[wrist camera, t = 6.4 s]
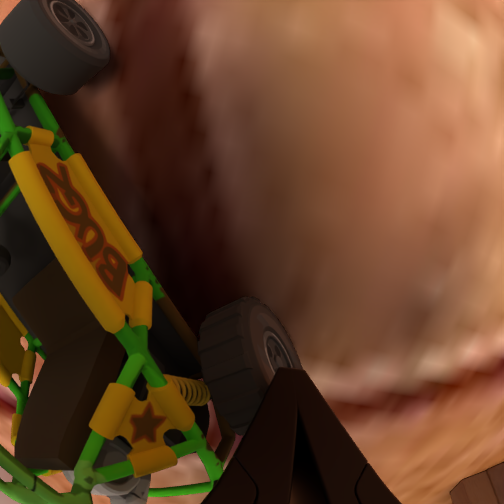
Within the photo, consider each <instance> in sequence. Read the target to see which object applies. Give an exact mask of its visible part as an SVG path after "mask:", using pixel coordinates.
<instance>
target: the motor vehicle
mask: <svg viewBox="0 0 504 504" xmlns="http://www.w3.org/2000/svg"><path fill="white" fill-rule="evenodd" d="M109 59H110V48H109V45H108V42H107V40H106V38H105V36H104V34H103V32H102V31H101V29H100V28H99V26H98V25H97V23H96V22H95V21H94V20H93V18H92V17H91V16H90V15H89V14H88V13H87V12H86V11H85V10H84V9H83V8H82V7H81V6H80V5H79V4H78V3H77V2H76V1H75V0H21V1H20V2H19V3H18V4H17V5H16V7H15V8H14V9H13V10H12V11H11V12H10V13H9V14H8V16H7V17H6V18H5V19H4V20H3V22H2V23H1V25H0V383H1V385H3V386H5V387H7V386H8V387H9V389H10V390H11V391H12V392H13V394H14V395H15V396H16V398H17V410H16V414H13V416H12V429H11V443H12V445H13V446H15V457H14V456H12V455H11V454H10V453H9V452H8V451H7V450H6V449H5V448H4V447H3V446H2V445H1V444H0V466H1V467H2V468H3V469H5V470H6V471H7V472H8V473H9V474H11V475H12V476H13V479H12V482H4V481H3V480H2V479H0V490H1V491H2V492H3V493H4V494H6V495H7V496H9V497H10V498H11V499H13V500H15V501H17V502H19V503H21V504H93V501H92V496H91V494H94V495H106V496H107V497H109V498H110V502H111V504H146V502H147V497H167V496H178V495H188V494H196V493H204V492H210V491H211V490H212V488H213V487H214V486H215V485H216V483H217V481H218V480H219V478H220V477H221V475H222V473H223V466H224V463H225V461H226V459H227V457H228V455H229V452H230V450H231V448H232V446H233V443H234V441H235V433H237V434H238V435H243V436H244V434H245V432H246V430H247V428H248V427H249V425H250V423H251V421H252V419H253V417H254V415H255V413H256V411H257V409H258V407H259V405H260V403H261V401H262V399H263V397H264V395H265V393H266V391H267V389H268V387H269V385H270V383H271V381H272V379H273V377H274V375H275V373H276V371H277V369H278V367H288V368H296V369H303V368H302V366H301V363H300V360H299V358H298V355H297V353H296V350H295V348H294V346H293V344H292V342H291V340H290V338H289V336H288V335H287V333H286V331H285V329H284V328H283V326H282V325H281V323H280V322H279V320H278V319H277V318H276V316H275V315H274V314H273V313H272V312H271V310H270V309H269V308H268V307H267V306H266V305H265V304H262V303H260V301H259V299H257V298H255V297H249V298H248V297H242V298H240V299H238V300H236V301H234V302H232V303H230V304H227V305H225V306H223V307H221V308H219V309H217V310H215V311H213V312H211V313H209V314H208V315H207V316H206V318H205V319H206V320H205V321H204V322H202V324H201V327H200V330H199V335H200V341H199V340H198V339H197V337H196V336H195V335H194V333H193V332H192V330H191V329H190V327H189V326H188V325H187V323H186V322H185V320H184V319H183V317H182V316H181V315H180V313H179V312H178V310H177V309H176V307H175V306H174V304H173V303H172V301H171V300H170V298H169V297H168V295H167V294H166V292H165V291H164V289H163V288H162V286H161V285H160V283H159V282H158V280H157V279H156V277H155V276H154V274H153V273H152V271H151V269H150V268H149V266H148V265H147V263H146V262H145V260H144V259H143V258H142V254H143V252H142V251H141V249H140V248H139V246H138V245H137V243H136V242H135V240H134V239H133V237H132V236H131V234H130V233H129V231H128V230H127V228H126V227H125V225H124V224H123V222H122V221H121V219H120V218H119V216H118V215H117V213H116V211H115V210H114V208H113V207H112V205H111V204H110V202H109V200H108V199H107V197H106V196H105V194H104V192H103V191H102V189H101V188H100V186H99V184H98V183H97V181H96V179H95V178H94V176H93V174H92V173H91V171H90V169H89V168H88V166H87V164H86V162H85V161H84V159H83V157H82V156H81V154H80V153H74V151H73V149H72V148H71V146H70V144H69V143H68V141H67V139H66V137H65V136H64V134H63V131H62V130H61V128H60V126H59V125H58V123H57V121H56V120H55V118H54V116H53V115H52V113H51V111H50V109H49V108H48V106H47V104H46V103H45V101H44V99H43V97H42V95H41V94H40V92H39V90H38V88H39V89H41V90H44V91H46V92H49V93H52V94H59V95H71V94H73V93H76V92H77V91H78V90H79V89H80V88H81V87H82V86H83V85H84V84H86V83H87V82H88V81H89V80H90V79H91V78H92V77H93V76H94V75H96V74H97V73H98V72H99V71H100V70H101V69H103V68H104V67H105V66H106V65H107V64H108V63H109ZM21 337H25V338H26V340H27V341H28V349H27V350H26V351H25V350H24V348H23V347H22V345H21V343H20V338H21ZM35 352H37V353H38V354H39V355H40V356H41V357H42V358H43V359H44V360H45V361H44V364H43V366H42V368H41V370H40V372H39V375H38V377H37V379H36V382H35V384H34V386H33V389H32V391H31V393H30V396H29V397H28V395H29V387H30V384H31V383H32V380H33V374H34V368H35V362H36V354H35ZM13 373H16V374H18V375H19V380H20V382H21V386H20V387H19V386H18V384H17V383H16V382H15V381H14V379H13V378H12V374H13ZM201 378H203V380H204V382H202V381H200V380H198V379H201ZM211 399H212V401H213V405H214V409H215V413H216V417H217V421H218V425H219V428H220V432H221V436H222V440H221V441H220V443H219V445H218V447H217V449H216V451H215V452H214V451H213V449H212V448H211V446H210V445H209V443H208V442H207V440H206V435H207V431H208V427H209V417H210V415H209V410H208V404H207V402H208V401H209V400H211ZM196 452H197V454H198V456H199V457H200V459H201V461H202V462H203V464H204V466H205V468H206V471H207V473H208V475H209V478H210V482H204V483H198V484H191V485H184V486H175V487H166V488H149V486H150V480H151V473H154V472H157V471H160V470H163V469H166V468H169V467H172V466H175V465H177V462H178V460H177V458H180V457H183V456H185V455H188V454H191V453H196ZM60 472H63V473H64V475H65V477H66V478H67V480H68V481H69V482H70V483H71V484H72V485H73V486H72V490H71V492H68V493H58V492H57V491H55V490H54V489H53V488H51V487H50V486H49V485H47V484H46V483H45V482H43V481H42V480H41V479H40V478H38V477H37V476H39V475H43V476H50V475H53V474H57V473H60ZM26 487H27V488H26ZM28 488H29V489H28Z"/></svg>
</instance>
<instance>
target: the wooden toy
mask: <svg viewBox="0 0 504 504" xmlns="http://www.w3.org/2000/svg"><path fill="white" fill-rule="evenodd" d="M450 495H451V498H452V502H453V504H504V462H503V463H501V464H499V465H496V466H494V467H492V468H489V469H487V470H486V471H484V472H482V473H479V474H476V475H474V476H471V477H469V478H466V479H463V480H462V481H461V482H460V483H459V484H458V485H457V486H456V487H455V488H454V489H453V490H452V491H451V492H450Z"/></svg>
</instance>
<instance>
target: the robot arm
mask: <svg viewBox="0 0 504 504" xmlns="http://www.w3.org/2000/svg"><path fill="white" fill-rule="evenodd" d="M201 504H402V503H401V502H400V501H399V500H398V499H397V498H396V497H395V496H394V495H393V493H392V492H391V491H390V490H389V489H388V488H387V487H386V485H385V484H384V483H383V481H382V480H381V479H380V477H379V476H378V475H377V473H376V472H375V471H374V469H373V468H372V466H371V465H370V464H369V463H367V460H366V458H365V457H364V455H363V454H362V452H361V451H360V450H359V448H358V447H357V445H356V444H355V442H354V441H353V440H352V438H351V437H350V435H349V434H348V432H347V431H346V430H345V428H344V427H343V425H342V424H341V422H340V421H339V420H338V418H337V417H336V415H335V414H334V412H333V411H332V409H331V408H330V406H329V405H328V404H327V402H326V401H325V399H324V398H323V396H322V395H321V393H320V392H319V390H318V389H317V387H316V386H315V385H314V383H313V382H312V380H311V379H310V377H309V376H308V374H307V373H306V371H305V370H303V369H296V368H288V367H278V369H277V371H276V373H275V375H274V377H273V379H272V381H271V383H270V385H269V387H268V389H267V391H266V393H265V395H264V397H263V399H262V401H261V403H260V405H259V407H258V409H257V411H256V413H255V415H254V417H253V419H252V421H251V423H250V425H249V427H248V428H247V430H246V432H245V434H244V436H243V438H242V440H241V442H240V443H239V445H238V447H237V449H236V451H235V453H234V455H233V457H232V458H231V460H230V461H229V463H228V465H227V467H226V469H225V470H224V472H223V473H222V475H221V477H220V478H219V480H218V481H217V483H216V485H215V486H214V487H213V488H212V490H211V491H210V492H209V494H208V495H207V496H206V498H205V499H204V500H203V501H202V502H201Z"/></svg>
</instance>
